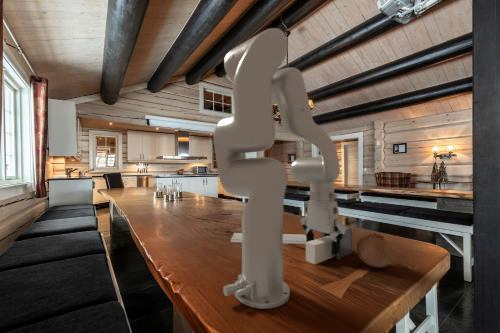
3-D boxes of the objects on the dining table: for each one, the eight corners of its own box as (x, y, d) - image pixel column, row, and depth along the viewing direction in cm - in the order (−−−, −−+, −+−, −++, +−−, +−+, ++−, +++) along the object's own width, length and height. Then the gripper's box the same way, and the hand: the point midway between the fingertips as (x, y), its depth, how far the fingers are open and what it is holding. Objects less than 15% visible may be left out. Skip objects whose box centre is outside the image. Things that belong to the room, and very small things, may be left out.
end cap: (338, 260, 72) (338, 232, 73) (316, 252, 80) (316, 227, 80) (354, 253, 78) (354, 228, 78) (332, 246, 85) (331, 223, 85)
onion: (381, 261, 72) (381, 229, 72) (400, 274, 62) (400, 238, 63) (351, 260, 72) (351, 229, 72) (365, 274, 63) (365, 237, 63)
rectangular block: (314, 264, 70) (314, 245, 70) (305, 261, 72) (305, 242, 72) (341, 254, 78) (340, 237, 78) (332, 251, 81) (331, 234, 81)
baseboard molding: (310, 247, 87) (304, 238, 99) (310, 239, 87) (304, 231, 99) (229, 245, 89) (234, 236, 101) (229, 237, 89) (234, 229, 101)
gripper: (353, 198, 70) (353, 254, 70) (308, 193, 84) (308, 240, 84) (339, 200, 66) (339, 260, 65) (294, 195, 80) (294, 244, 79)
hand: (322, 248), depth 75 cm, fingers open, 9 cm apart
